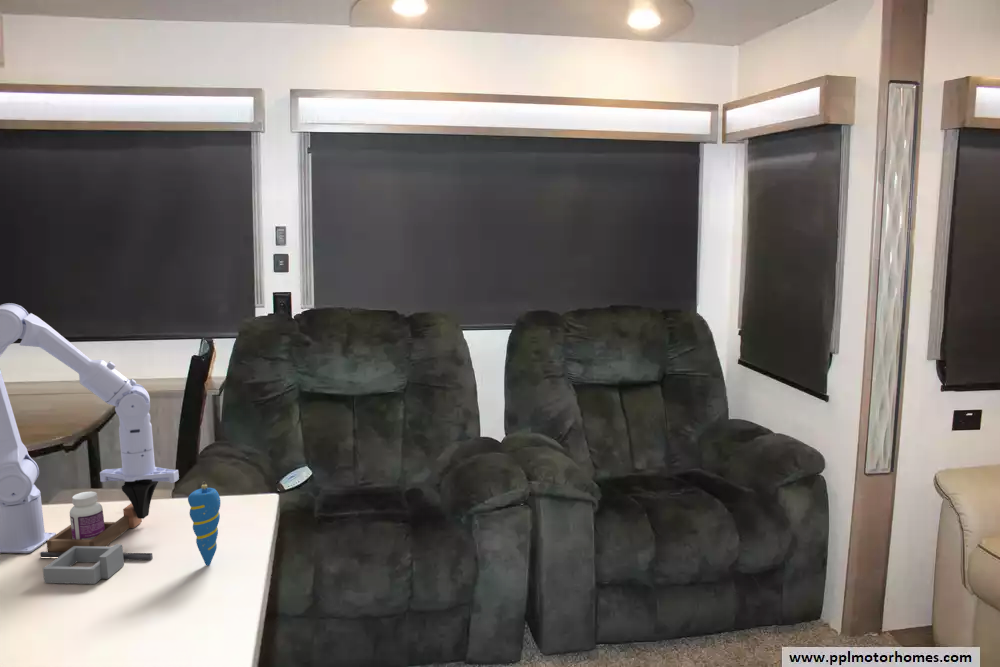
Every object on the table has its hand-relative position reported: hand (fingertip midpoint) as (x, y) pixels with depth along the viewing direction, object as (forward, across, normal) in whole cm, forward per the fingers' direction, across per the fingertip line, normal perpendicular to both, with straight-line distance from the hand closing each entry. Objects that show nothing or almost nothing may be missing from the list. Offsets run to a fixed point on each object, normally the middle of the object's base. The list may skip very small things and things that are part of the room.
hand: (143, 516), depth 152 cm
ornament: (+2, +20, -16) cm, 26 cm away
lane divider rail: (+2, -1, -14) cm, 14 cm away
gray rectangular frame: (+2, 0, -20) cm, 20 cm away
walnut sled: (+2, -6, -6) cm, 9 cm away
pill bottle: (+2, -6, -9) cm, 11 cm away
